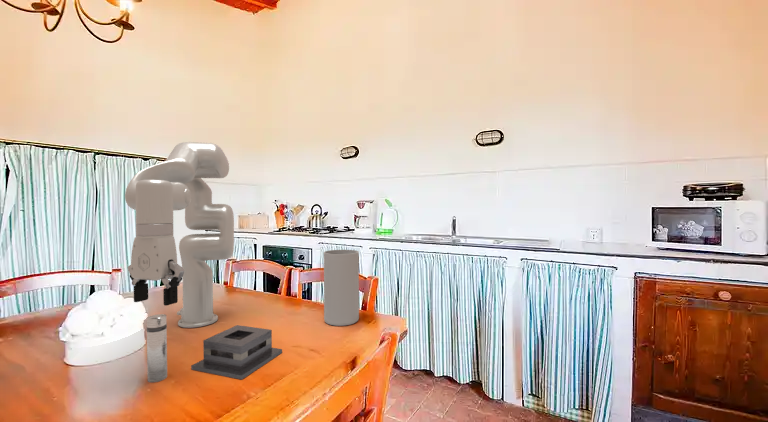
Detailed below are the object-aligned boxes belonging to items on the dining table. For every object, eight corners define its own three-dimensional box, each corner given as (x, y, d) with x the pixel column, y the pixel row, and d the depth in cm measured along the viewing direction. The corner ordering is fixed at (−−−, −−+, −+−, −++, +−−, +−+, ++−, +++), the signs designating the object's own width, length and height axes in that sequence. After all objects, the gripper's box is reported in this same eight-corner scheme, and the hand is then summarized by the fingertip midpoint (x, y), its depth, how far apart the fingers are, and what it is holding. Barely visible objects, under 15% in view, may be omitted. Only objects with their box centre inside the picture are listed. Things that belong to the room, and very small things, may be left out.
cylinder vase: (344, 329, 116) (344, 255, 116) (316, 322, 123) (316, 252, 123) (365, 318, 127) (365, 251, 127) (339, 313, 134) (338, 248, 133)
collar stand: (191, 369, 88) (190, 342, 88) (236, 345, 103) (236, 322, 103) (241, 379, 83) (241, 350, 83) (282, 352, 98) (282, 328, 98)
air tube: (143, 380, 82) (142, 318, 82) (159, 372, 86) (158, 313, 86) (155, 383, 81) (154, 320, 81) (171, 375, 85) (170, 315, 85)
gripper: (113, 231, 82) (114, 303, 82) (167, 232, 77) (167, 309, 77) (144, 230, 89) (145, 296, 89) (195, 230, 84) (196, 301, 84)
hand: (155, 302), depth 83 cm, fingers open, 9 cm apart
